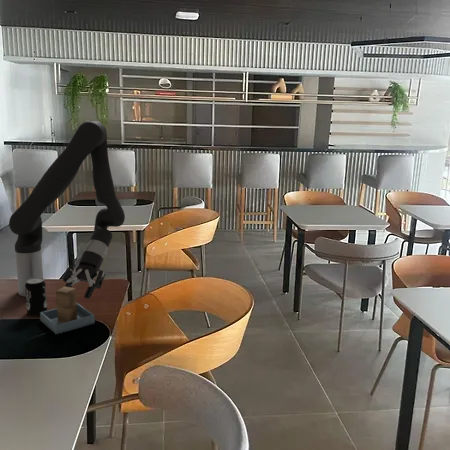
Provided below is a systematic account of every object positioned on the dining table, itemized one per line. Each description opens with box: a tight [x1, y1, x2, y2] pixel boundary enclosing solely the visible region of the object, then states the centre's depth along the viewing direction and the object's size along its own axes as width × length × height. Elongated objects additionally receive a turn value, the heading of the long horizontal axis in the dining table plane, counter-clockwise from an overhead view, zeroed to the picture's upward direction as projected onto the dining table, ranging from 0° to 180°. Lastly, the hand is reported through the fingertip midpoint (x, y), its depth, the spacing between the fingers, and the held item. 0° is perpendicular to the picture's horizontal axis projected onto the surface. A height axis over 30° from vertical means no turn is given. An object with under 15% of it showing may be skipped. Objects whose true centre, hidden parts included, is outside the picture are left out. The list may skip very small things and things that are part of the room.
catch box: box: [39, 302, 96, 335], centre depth 156 cm, size 13×13×3 cm
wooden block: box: [55, 286, 78, 323], centre depth 155 cm, size 4×4×11 cm
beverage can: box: [25, 277, 48, 317], centre depth 162 cm, size 7×7×12 cm
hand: (75, 296), depth 159 cm, fingers open, 8 cm apart
